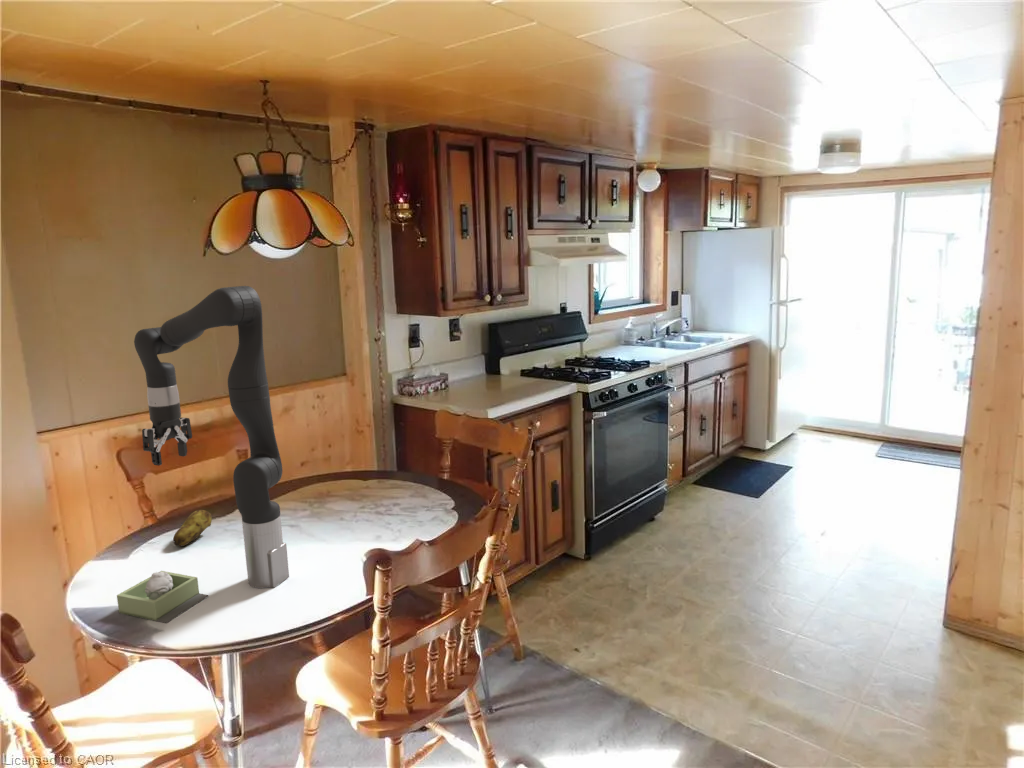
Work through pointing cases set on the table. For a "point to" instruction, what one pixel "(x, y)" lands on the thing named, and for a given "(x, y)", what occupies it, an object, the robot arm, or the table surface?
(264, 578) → the robot arm
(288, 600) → the table surface
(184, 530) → the potato
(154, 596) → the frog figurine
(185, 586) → the tray
